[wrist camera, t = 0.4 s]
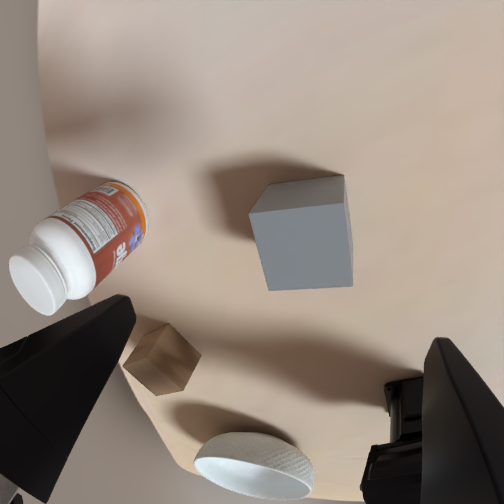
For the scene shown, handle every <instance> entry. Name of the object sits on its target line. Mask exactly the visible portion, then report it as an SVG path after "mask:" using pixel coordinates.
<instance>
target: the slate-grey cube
mask: <svg viewBox="0 0 504 504" xmlns="http://www.w3.org/2000/svg"><path fill="white" fill-rule="evenodd" d="M249 218H250V222H251V226H252V230H253V233H254V237H255V241H256V245H257V248H258V252H259V256H260V260H261V264H262V267H263V271H264V275H265V279H266V283H267V286H268V290H269V291H275V290H297V289H316V288H334V287H350V286H353V241H352V232H351V223H350V214H349V206H348V199H347V192H346V185H345V178H344V175H339V176H330V177H322V178H313V179H305V180H298V181H290V182H283V183H276V184H269V185H268V186H267V188H266V189H265V191H264V192H263V194H262V195H261V196H260V198H259V199H258V201H257V202H256V204H255V205H254V206H253V208H252V209H251V211H250V212H249Z"/></svg>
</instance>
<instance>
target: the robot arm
mask: <svg viewBox="0 0 504 504" xmlns="http://www.w3.org/2000/svg"><path fill="white" fill-rule="evenodd" d="M135 323H136V314H135V311H134V308H133V305H132V302H131V299H130V298H129V297H128V296H125V295H121V294H117V295H114V296H112V297H110V298H108V299H106V300H103V301H101V302H99V303H97V304H95V305H93V306H90V307H88V308H86V309H84V310H82V311H80V312H78V313H75V314H73V315H71V316H69V317H67V318H65V319H63V320H60V321H58V322H56V323H54V324H52V325H50V326H48V327H46V328H43V329H41V330H39V331H37V332H35V333H33V334H31V335H29V336H28V337H27V336H26V337H24V338H22V339H20V340H18V341H16V342H13V343H11V344H9V345H7V346H5V347H2V348H0V504H23V500H22V496H21V495H20V494H19V493H18V491H19V489H20V488H21V489H23V490H24V491H25V492H27V493H29V494H30V495H32V496H33V497H35V498H36V499H38V500H40V501H41V502H43V503H45V504H46V503H47V502H48V500H49V498H50V495H51V493H52V491H53V489H54V486H55V484H56V482H57V480H58V478H59V476H60V474H61V471H62V469H63V467H64V465H65V463H66V461H67V458H68V456H69V454H70V452H71V450H72V448H73V446H74V444H75V442H76V440H77V438H78V436H79V434H80V432H81V430H82V428H83V426H84V424H85V422H86V420H87V419H88V416H89V414H90V412H91V411H92V409H93V407H94V405H95V403H96V401H97V399H98V398H99V396H100V394H101V392H102V390H103V388H104V386H105V385H106V383H107V381H108V379H109V377H110V375H111V374H112V372H113V370H114V368H115V367H116V365H117V363H118V361H119V359H120V357H121V354H122V352H123V350H124V348H125V345H126V343H127V341H128V338H129V336H130V334H131V332H132V330H133V327H134V325H135ZM384 390H385V396H386V401H387V406H388V412H389V416H390V417H391V425H390V443H387V444H382V445H372V446H371V450H370V452H369V455H368V459H367V463H366V467H365V471H364V474H363V478H362V482H361V484H360V490H361V491H362V492H363V498H364V501H365V503H366V504H504V407H503V406H502V404H501V403H500V402H499V400H498V399H497V398H496V396H495V395H494V394H493V392H492V391H491V390H490V388H489V387H488V386H487V384H486V383H485V382H484V381H483V379H482V378H481V377H480V375H479V374H478V373H477V372H476V370H475V369H474V368H473V367H472V365H471V364H470V363H469V362H468V360H467V359H466V358H465V357H464V355H463V354H462V353H461V352H460V351H459V349H458V348H457V347H456V346H455V345H454V343H453V342H452V341H451V340H450V339H449V338H444V337H436V338H435V339H434V340H433V342H432V344H431V346H430V349H429V351H428V353H427V356H426V358H425V362H424V377H419V378H414V379H409V380H404V381H398V382H392V383H387V384H385V386H384Z"/></svg>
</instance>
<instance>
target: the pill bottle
mask: <svg viewBox="0 0 504 504" xmlns="http://www.w3.org/2000/svg"><path fill="white" fill-rule="evenodd" d="M147 230H148V216H147V212H146V208H145V206H144V204H143V202H142V201H141V199H140V198H139V196H138V195H137V194H136V193H135V192H134V191H133V190H132V189H130V188H129V187H127V186H126V185H124V184H121V183H118V182H108V183H104V184H102V185H100V186H98V187H96V188H95V189H93V190H91V191H89V192H88V193H86V194H84V195H82V196H81V197H79V198H77V199H76V200H74V201H72V202H71V203H69V204H67V205H66V206H64V207H63V208H61V209H59V210H58V211H56V212H55V213H53V214H52V215H50V216H49V217H47V218H45V219H44V220H43V221H41V222H40V223H39V224H37V225H36V227H35V228H34V229H33V231H32V233H31V236H30V241H29V245H26V246H24V247H22V248H21V249H20V250H19V251H17V252H16V253H15V254H14V255H13V256H12V257H11V258H10V261H9V269H10V274H11V277H12V280H13V282H14V284H15V286H16V288H17V290H18V291H19V293H20V294H21V296H22V297H23V298H24V299H25V301H26V302H27V303H28V304H29V305H30V306H31V307H32V308H33V309H35V310H36V311H38V312H39V313H41V314H43V315H52V314H53V313H55V312H56V311H57V310H58V309H59V308H60V307H61V306H62V305H63V304H64V302H65V301H66V299H72V300H75V299H80V298H83V297H84V296H86V295H87V294H89V293H90V292H91V291H92V290H93V289H94V288H95V287H96V286H97V285H98V284H99V283H100V282H101V281H102V280H103V279H104V278H105V277H106V276H107V275H108V274H109V273H110V272H111V271H112V270H113V269H114V268H115V267H116V266H118V265H119V264H120V263H121V262H122V261H123V260H124V259H125V258H126V257H127V256H128V255H129V254H130V253H131V252H132V251H133V250H134V249H135V248H136V247H138V246H139V245H140V243H141V242H142V241H143V240H144V238H145V236H146V234H147Z"/></svg>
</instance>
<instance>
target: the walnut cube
mask: <svg viewBox="0 0 504 504" xmlns="http://www.w3.org/2000/svg"><path fill="white" fill-rule="evenodd" d="M201 356H202V355H201V354H200V353H199V352H198V351H197V350H196V349H195V348H193V347H192V346H191V345H190V344H189V343H188V342H187V341H186V340H185V339H184V338H183V337H182V336H181V335H180V334H179V333H178V332H177V331H176V330H175V329H174V328H173V327H172V326H171V325H170V323H168V324H166V325H164V326H162V327H160V328H158V329H156V330H154V331H152V332H150V333H148V334H146V335H144V336H143V338H142V339H141V340H140V342H139V343H138V345H137V346H136V347H135V349H134V350H133V352H132V353H131V354H130V356H129V357H128V359H127V360H126V362H125V363H124V364H123V367H124V368H125V369H126V370H127V371H128V372H129V373H130V374H131V375H132V376H134V377H135V378H136V379H137V380H138V381H139V382H140V383H141V384H143V385H144V386H145V387H146V388H147V389H148V390H149V391H151V392H152V393H153V394H154V395H155V396H159V395H164V394H169V393H174V392H179V391H183V390H184V388H185V386H186V384H187V383H188V381H189V379H190V377H191V375H192V373H193V371H194V369H195V367H196V365H197V363H198V361H199V359H200V358H201Z"/></svg>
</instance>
